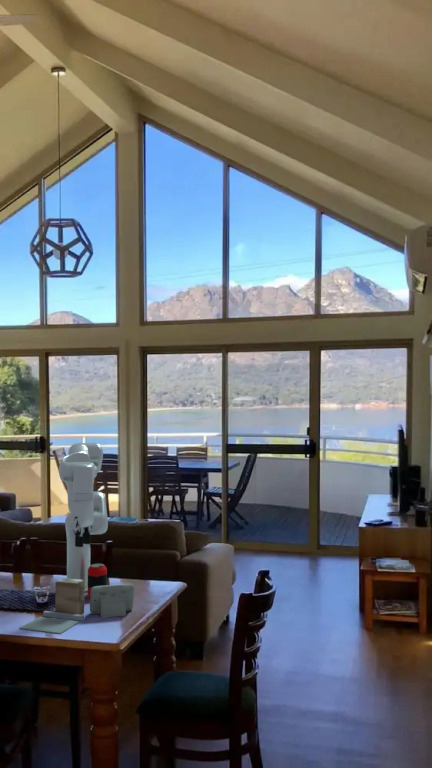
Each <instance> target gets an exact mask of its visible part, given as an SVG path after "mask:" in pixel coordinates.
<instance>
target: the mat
mask: <svg viewBox="0 0 432 768" xmlns="http://www.w3.org/2000/svg"><path fill="white" fill-rule="evenodd" d="M79 623H80V621H79V620H71V619H62V618H54V617H46V616H39V617H37V618H35V619H33V620H31V621H29V622H27V623H26V624H24V625H22V626H21V627H19V630H25V631H34V632H41V633H50V634H59V635H62V634H63V633H65V632H66V631H68V630H70V629H72V628H73V627H75V626H77V625H78V624H79Z"/></svg>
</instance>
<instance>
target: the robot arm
mask: <svg viewBox="0 0 432 768" xmlns="http://www.w3.org/2000/svg"><path fill="white" fill-rule="evenodd" d="M67 454H68V455H66V456H64V457H62V458H61V460H60V462H59V466H58V468H59V469H58V472H59V479H60V480H61V481H62V482H64V484H65V485H66V489H67V491H66V492H67V507H68V511H69V514H67V515H66V517H65V520H64V525H65V532H66V533H65V534H66V535H65V536H66V578H67V579H78V580H84V593H85V592H88V568H89V567H90V565H91V538H92V537H91V535H93V536H94V535H103V534H106V532H107V531H108V527H109V526H108V525H109V520H108V519H109V518H108V510H107V500H106V496H105V494H104V493H103V492H102V491H94V479H95V478H96V477H97V474H98V473H100V472H101V469H102V463H103V460H104V451H103V446H102V445H101V444H100V443H98V442H79V443H78V442H77V443H74V444H72V445H70V447H69V448H68V453H67Z"/></svg>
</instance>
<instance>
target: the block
mask: <svg viewBox="0 0 432 768" xmlns="http://www.w3.org/2000/svg"><path fill="white" fill-rule="evenodd" d="M54 598H55V599H54V600H55V601H54V602H55V609H54V612H60V613H69V614H78V615H85V592H84V580H78V579H67V577H64V578H60V579H58V580H56V581H55V597H54Z"/></svg>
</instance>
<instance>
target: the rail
mask: <svg viewBox="0 0 432 768" xmlns="http://www.w3.org/2000/svg"><path fill="white" fill-rule="evenodd" d="M42 617H46V618H54V619H63V620H71V621H79V622H81V621H82V622H83V621H84V620H85V614H83V615H78V614H69V613H60V612H55V611H50V610H44V611H43V612H42Z"/></svg>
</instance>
